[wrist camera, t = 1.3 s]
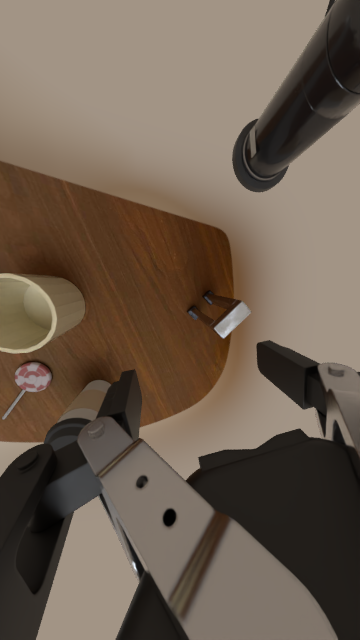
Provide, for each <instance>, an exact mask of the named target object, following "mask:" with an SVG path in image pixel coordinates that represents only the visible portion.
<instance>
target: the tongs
mask: <svg viewBox="0 0 360 640" xmlns="http://www.w3.org/2000/svg"><path fill="white" fill-rule="evenodd" d="M203 298H204V299H205V300H206V301H207V302H208V303H209V304H210V305H212V304H214V305H216V306H219V307H222V308H224V309H227V310H226V311H225V312H224V313H223V314H222V315H221V316H220V317H219V318H218V319H217V320H216V321H214V320H213V319H211V318H209V317H208V316H206V315H205V314H203V313H202V312H200V311H199V310H198V309H197V308H196V307H195V306H192V307H191V308H190V309H189V310H188V311H187V312H188V313H189V314H190V315H191V316H192V317H193V318H194V319H195V320H196V319H197V318H198V319H200V320H201V321H202V322H203V323H204V324H206V325H207V326H208V327H209V328H211V329H212V330H213V331H214V332H215V333H217V334H218V335H219V336H220V337H222V338H223V339H224V338H225V337H226V336H227V335H228V334H229V333H230V332H231V331H232V330H233V329H234V328H235V327H236V326H238V325H239V324H240V323H241V322H242V321H243V320H244V319H245V318H246V317H247V316H248V315H249V314H250V313H251V311H250V309H249V308H248V307H247V306H246V304H245V303H244V302H243V301H241V300H236V299H232V298H227V297H222V296H218V295H214V294H213V293H212V292H211V291H208V292H207V293H206V294H205V295H203Z"/></svg>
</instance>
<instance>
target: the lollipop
mask: <svg viewBox="0 0 360 640" xmlns="http://www.w3.org/2000/svg"><path fill="white" fill-rule="evenodd" d="M51 379H52V374H51V372H50V370H49V369H48V368H47V367H46V366H45V365H43V364H41V363H37V362H30V363H26V364H23V365H22V366H20V367H19V368H18V369H17V371H16V373H15V381H16V383H17V385H18V386H19V387H20V388H22V389H23V390H22V391H21V393H20V394H19V395H18V397H17V398H16V400H15V401H14V402H13V404H12V405H11V406H10V408H9V409H8V411H7V412H6V413H5V415H4V416H3V417H2V419H3V420H4V419H5V418H6V417H7V416H8V414H9V413H10V411H11V410H12V409H13V407H14V406H15V405H16V403H17V402H18V401H19V399H20V398H21V396H22V395H23V394H24V392H25V391H30V392H37V391H41V390H43V389H45V388H46V387H47V386H48V385H49V384H50V382H51Z"/></svg>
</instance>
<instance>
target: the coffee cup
mask: <svg viewBox="0 0 360 640" xmlns="http://www.w3.org/2000/svg"><path fill="white" fill-rule="evenodd" d="M110 386H111V384H110V383H108V382H106V381H103V380H95V381H92V382H90V383H89V384H88V385H87V386H86V387H85V388H84V389H83V391H82V392H81V393H80V394H79V395H78V396H77V397H76V398H75V400H74V401H73V402H72V403H71V404H70V406H69V407H68V408H67V409H66V411H65V412H64V413H63V414H62V416H61V417H60V418H59V420H58V421H57V423H56V424H55V425H54V426H53V427H52V428H51V429H50V430H49V431H48V433H47V435H46V438H45V441H44V444H50V445H52V447H53V450H54V451H56V450H58V449H60V448H62V447H64V446H66V445H68V444H70V443H72V442H74V441H76V440H77V438H78V435H79V433H80V431H81V430H82V429H83V428H84V427H85V426H86V425H87V424H88V423H90V422H91V421H93V420H95V419H96V416H97V414H98V412H99V409H100V407H101V405H102V402H103V401H104V397H105V396H106V393H107V390H108V388H109V387H110Z"/></svg>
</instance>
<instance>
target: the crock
mask: <svg viewBox="0 0 360 640" xmlns="http://www.w3.org/2000/svg"><path fill="white" fill-rule="evenodd" d="M84 313H85V301H84V298H83V296H82V294H81V292H80V291H79V289H78V288H77V287H76V286H75V285H74V284H72V283H71V282H69V281H68V280H66V279H63V278H60V277H56V276H47V275H29V274H12V273H0V351H3V352H9V353H27V352H31V351H33V350H36V349H39V348H41V347H43V346H44V345H46V344H48V343H49V342H51V341H53V340H54V339H56V338H58V337H60V336H61V335H63V334H65V333H66V332H68V331H70V330H71V329H73V328H74V327H76V326H77V325H78V324H79V323H80V322H81V320H82V319H83V316H84Z"/></svg>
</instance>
